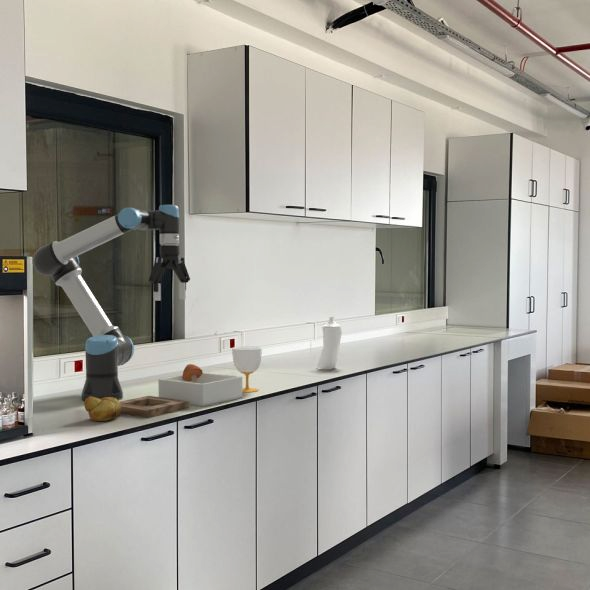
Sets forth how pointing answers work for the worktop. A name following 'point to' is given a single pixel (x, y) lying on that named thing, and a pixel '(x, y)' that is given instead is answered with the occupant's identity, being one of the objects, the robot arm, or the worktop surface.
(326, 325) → the spray can
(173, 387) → the bin
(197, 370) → the mushroom
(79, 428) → the worktop surface
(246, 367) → the cup
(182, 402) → the board
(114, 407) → the bread roll
